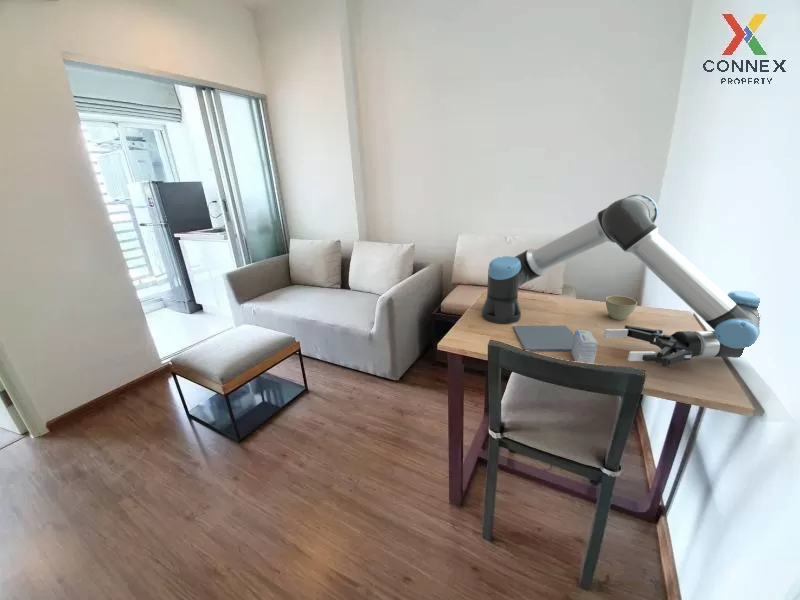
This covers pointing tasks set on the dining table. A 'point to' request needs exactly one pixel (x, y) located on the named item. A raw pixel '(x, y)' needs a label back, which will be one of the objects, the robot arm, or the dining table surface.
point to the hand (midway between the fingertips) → (616, 344)
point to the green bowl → (620, 306)
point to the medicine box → (584, 346)
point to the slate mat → (545, 338)
